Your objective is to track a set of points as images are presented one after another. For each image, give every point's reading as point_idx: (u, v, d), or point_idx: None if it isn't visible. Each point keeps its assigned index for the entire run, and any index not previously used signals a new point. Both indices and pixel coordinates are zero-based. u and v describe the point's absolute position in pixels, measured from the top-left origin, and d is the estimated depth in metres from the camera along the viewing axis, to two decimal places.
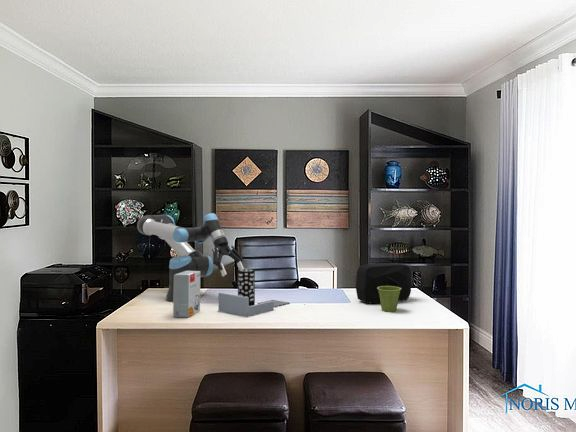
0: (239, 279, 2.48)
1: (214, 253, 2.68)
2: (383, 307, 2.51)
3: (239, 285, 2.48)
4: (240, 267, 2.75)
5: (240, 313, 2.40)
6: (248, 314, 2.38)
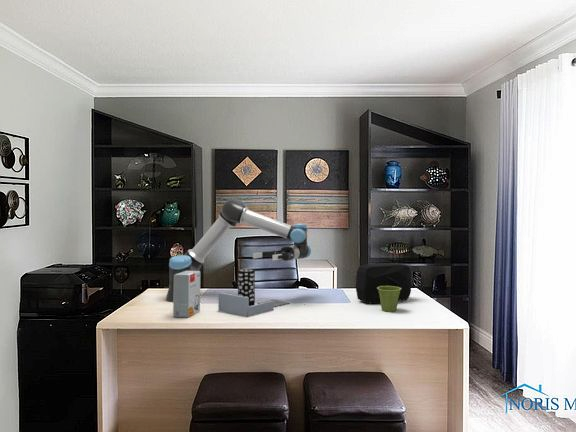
0: (239, 279, 2.48)
1: (290, 255, 2.65)
2: (383, 307, 2.51)
3: (239, 285, 2.48)
4: (258, 255, 2.66)
5: (240, 313, 2.40)
6: (248, 314, 2.38)
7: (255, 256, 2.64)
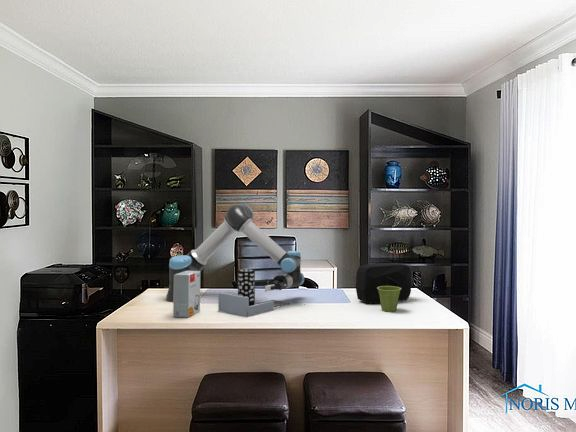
0: (239, 279, 2.48)
1: (283, 285, 2.60)
2: (383, 307, 2.51)
3: (239, 285, 2.48)
4: None
5: (240, 313, 2.40)
6: (248, 314, 2.38)
7: None
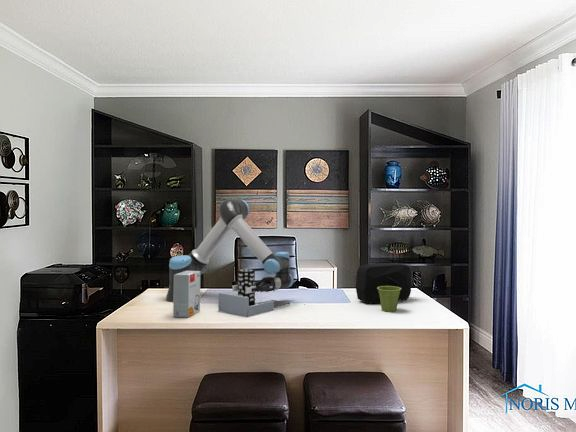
0: (239, 279, 2.48)
1: (268, 287, 2.53)
2: (383, 307, 2.51)
3: (239, 285, 2.48)
4: None
5: (240, 313, 2.40)
6: (248, 314, 2.38)
7: (235, 289, 2.50)
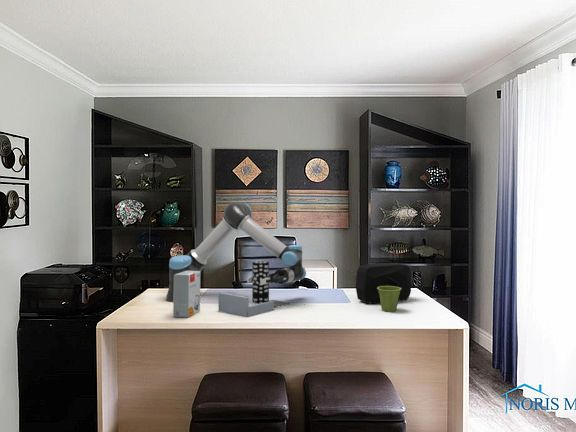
0: (254, 271, 2.54)
1: (282, 279, 2.59)
2: (383, 307, 2.51)
3: (254, 277, 2.54)
4: None
5: (240, 313, 2.40)
6: (248, 314, 2.38)
7: (250, 280, 2.56)
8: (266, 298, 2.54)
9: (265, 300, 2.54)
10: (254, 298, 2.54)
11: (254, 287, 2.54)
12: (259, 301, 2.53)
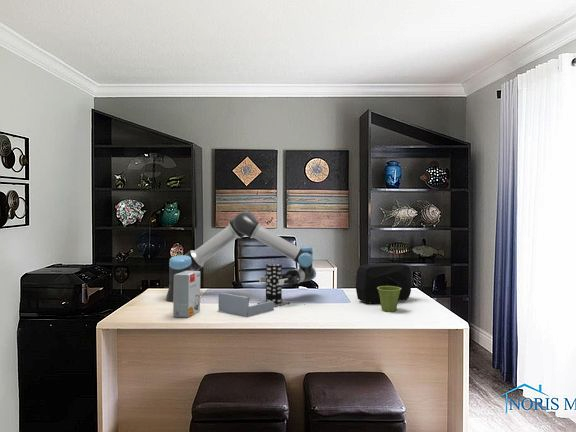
0: (267, 273, 2.64)
1: (296, 279, 2.69)
2: (383, 307, 2.51)
3: (267, 278, 2.64)
4: (264, 279, 2.70)
5: (240, 313, 2.40)
6: (248, 314, 2.38)
7: (261, 280, 2.69)
8: (279, 299, 2.64)
9: (278, 301, 2.63)
10: (267, 299, 2.64)
11: (267, 289, 2.64)
12: None
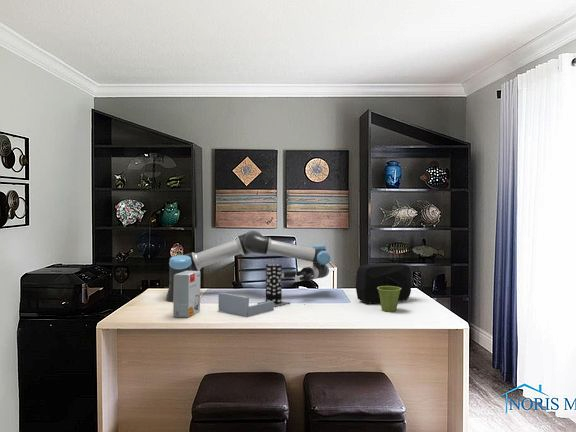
0: (267, 273, 2.64)
1: (311, 276, 2.79)
2: (383, 307, 2.51)
3: (267, 279, 2.64)
4: None
5: (240, 313, 2.40)
6: (248, 314, 2.38)
7: None
8: (279, 299, 2.64)
9: (278, 301, 2.63)
10: (267, 299, 2.64)
11: (267, 289, 2.64)
12: None
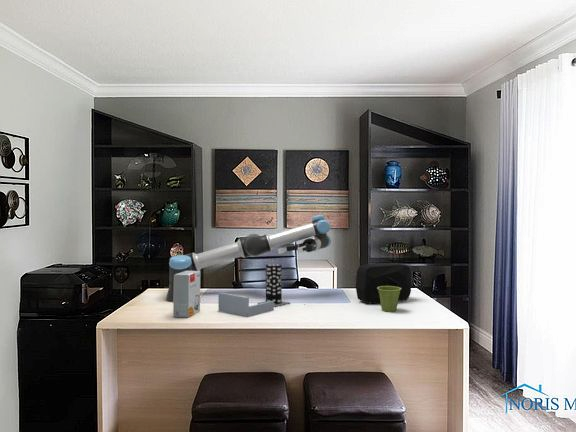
0: (267, 273, 2.63)
1: (313, 246, 2.79)
2: (383, 307, 2.51)
3: (267, 279, 2.64)
4: (283, 250, 2.80)
5: (240, 313, 2.40)
6: (248, 314, 2.38)
7: (280, 251, 2.78)
8: (279, 299, 2.64)
9: (278, 301, 2.63)
10: (267, 299, 2.64)
11: (267, 289, 2.64)
12: None
